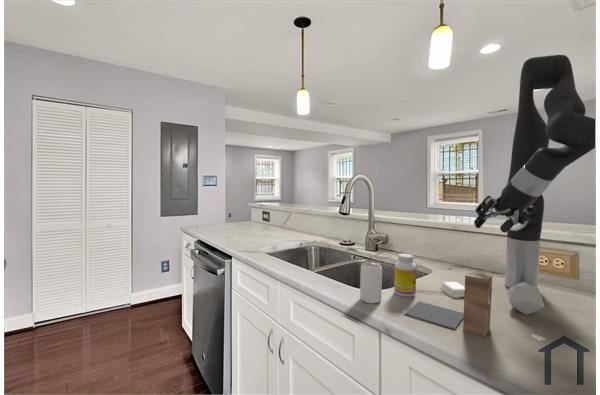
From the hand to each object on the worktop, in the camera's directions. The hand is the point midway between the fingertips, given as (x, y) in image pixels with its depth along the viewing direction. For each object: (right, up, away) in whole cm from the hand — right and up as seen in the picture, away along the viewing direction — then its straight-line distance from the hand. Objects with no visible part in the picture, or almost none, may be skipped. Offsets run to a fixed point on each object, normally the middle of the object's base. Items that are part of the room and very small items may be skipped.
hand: (489, 228), depth 91 cm
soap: (-4, -23, +11) cm, 26 cm away
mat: (-18, -24, -5) cm, 30 cm away
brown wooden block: (-11, -24, -13) cm, 30 cm away
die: (+8, -24, -3) cm, 25 cm away
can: (-34, -23, +5) cm, 41 cm away
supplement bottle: (-21, -23, +10) cm, 33 cm away
